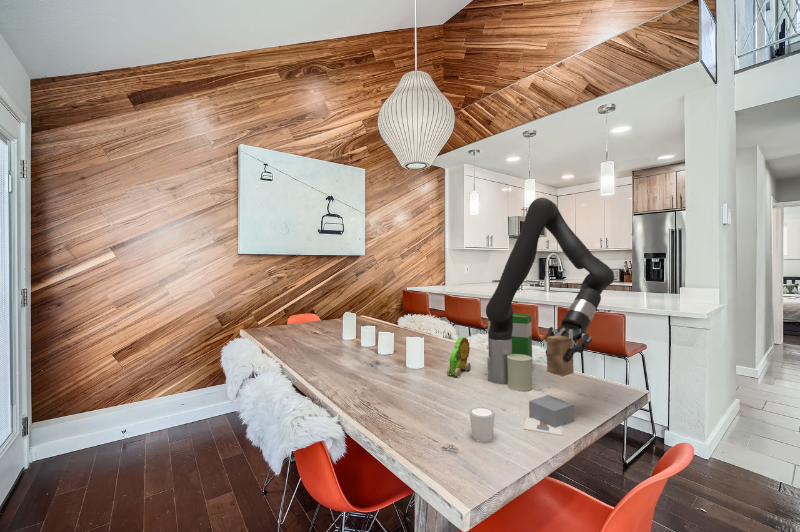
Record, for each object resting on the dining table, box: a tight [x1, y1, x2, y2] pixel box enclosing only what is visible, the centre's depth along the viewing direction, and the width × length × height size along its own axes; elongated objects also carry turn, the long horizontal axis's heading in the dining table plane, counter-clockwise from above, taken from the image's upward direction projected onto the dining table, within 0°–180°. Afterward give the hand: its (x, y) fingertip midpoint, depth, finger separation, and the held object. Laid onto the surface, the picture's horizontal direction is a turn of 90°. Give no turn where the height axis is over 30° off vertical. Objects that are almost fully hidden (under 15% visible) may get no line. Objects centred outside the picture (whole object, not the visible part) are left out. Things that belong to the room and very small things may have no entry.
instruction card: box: [523, 416, 563, 436], centre depth 103 cm, size 10×8×1 cm
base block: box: [528, 394, 575, 428], centre depth 108 cm, size 9×9×5 cm
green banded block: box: [487, 313, 533, 358], centre depth 161 cm, size 18×7×24 cm, turn 56°
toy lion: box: [446, 336, 472, 378], centre depth 155 cm, size 16×5×15 cm, turn 144°
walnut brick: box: [546, 335, 574, 377], centre depth 110 cm, size 5×5×11 cm
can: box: [506, 354, 534, 392], centre depth 135 cm, size 9×9×12 cm
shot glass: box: [468, 406, 495, 442], centre depth 98 cm, size 7×7×7 cm
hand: (556, 358), depth 109 cm, fingers closed on walnut brick, 5 cm apart
